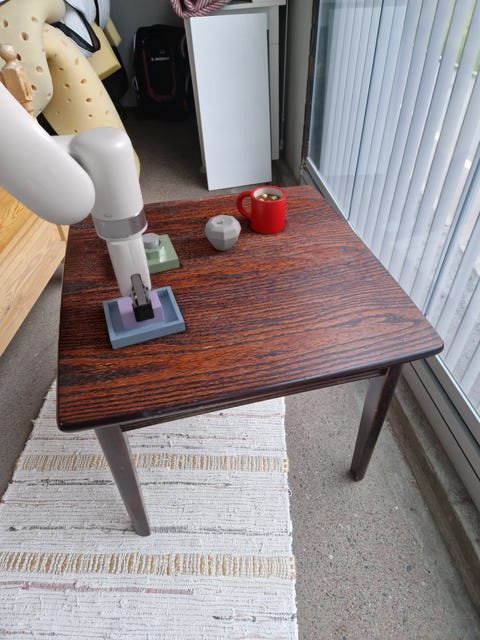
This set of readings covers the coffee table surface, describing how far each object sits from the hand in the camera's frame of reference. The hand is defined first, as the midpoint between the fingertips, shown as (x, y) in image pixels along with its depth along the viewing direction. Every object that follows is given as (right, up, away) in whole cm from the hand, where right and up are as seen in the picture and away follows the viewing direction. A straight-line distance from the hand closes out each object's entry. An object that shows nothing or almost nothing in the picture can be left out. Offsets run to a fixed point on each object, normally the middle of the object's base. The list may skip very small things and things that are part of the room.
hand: (142, 309), depth 74 cm
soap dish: (0, -2, +2) cm, 3 cm away
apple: (+14, +14, +18) cm, 27 cm away
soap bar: (0, -1, +1) cm, 2 cm away
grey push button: (-1, +14, +13) cm, 19 cm away
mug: (+22, +21, +25) cm, 39 cm away
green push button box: (-3, +11, +15) cm, 18 cm away
